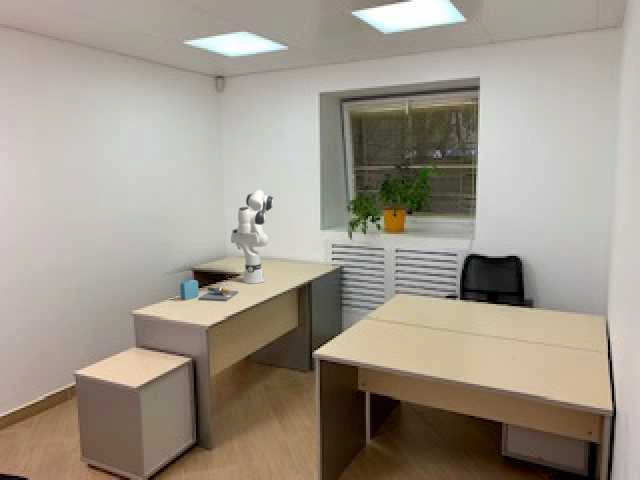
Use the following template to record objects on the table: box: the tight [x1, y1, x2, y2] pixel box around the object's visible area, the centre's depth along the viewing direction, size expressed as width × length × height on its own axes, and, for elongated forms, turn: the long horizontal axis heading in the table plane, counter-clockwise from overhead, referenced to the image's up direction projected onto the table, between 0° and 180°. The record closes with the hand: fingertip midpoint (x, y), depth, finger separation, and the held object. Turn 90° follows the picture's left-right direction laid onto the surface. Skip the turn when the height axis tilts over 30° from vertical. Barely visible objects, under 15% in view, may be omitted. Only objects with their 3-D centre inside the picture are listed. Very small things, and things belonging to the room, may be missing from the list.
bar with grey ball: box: [206, 286, 231, 295], centre depth 339 cm, size 20×6×5 cm, turn 57°
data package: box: [179, 279, 200, 301], centre depth 335 cm, size 12×4×12 cm, turn 145°
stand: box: [198, 290, 239, 302], centre depth 340 cm, size 22×21×2 cm
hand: (245, 249), depth 347 cm, fingers open, 8 cm apart
